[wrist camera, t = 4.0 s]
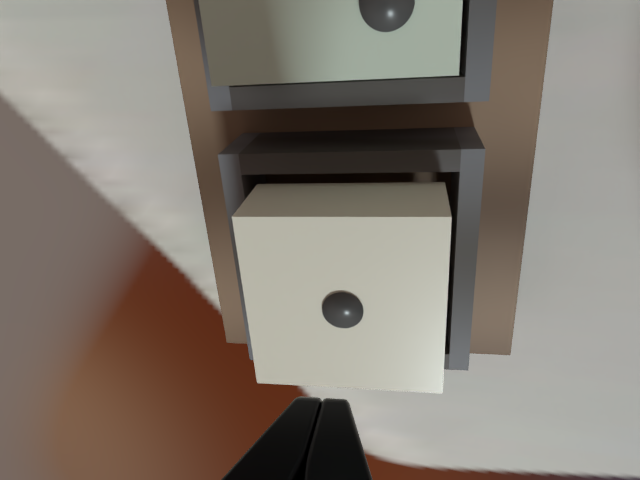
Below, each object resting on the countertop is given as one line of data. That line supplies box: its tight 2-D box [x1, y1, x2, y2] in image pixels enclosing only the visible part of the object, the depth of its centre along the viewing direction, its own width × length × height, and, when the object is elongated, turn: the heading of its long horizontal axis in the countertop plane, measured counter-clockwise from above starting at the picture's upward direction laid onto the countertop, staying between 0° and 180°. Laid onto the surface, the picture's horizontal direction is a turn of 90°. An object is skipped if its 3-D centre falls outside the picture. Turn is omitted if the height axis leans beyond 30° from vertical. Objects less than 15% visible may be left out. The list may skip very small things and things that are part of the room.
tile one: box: [232, 182, 452, 394], centre depth 12 cm, size 4×4×2 cm
